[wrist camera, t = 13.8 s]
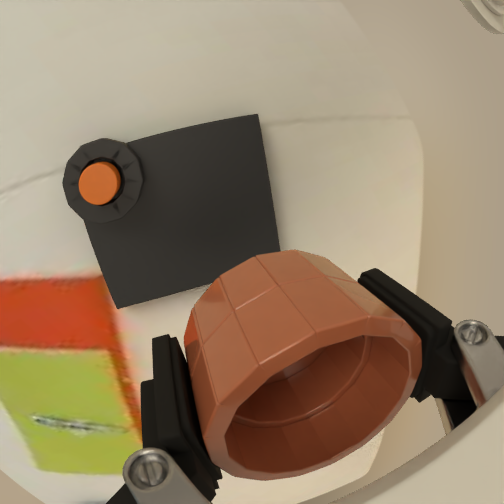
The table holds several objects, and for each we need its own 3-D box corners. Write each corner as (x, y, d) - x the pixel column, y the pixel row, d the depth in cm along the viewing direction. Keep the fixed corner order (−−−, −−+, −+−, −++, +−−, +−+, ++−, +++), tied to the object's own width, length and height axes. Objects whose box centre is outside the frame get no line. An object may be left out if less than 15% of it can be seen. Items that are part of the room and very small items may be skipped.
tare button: (80, 168, 17) (73, 171, 16) (115, 156, 18) (111, 158, 16) (90, 205, 18) (84, 210, 17) (125, 194, 19) (122, 198, 18)
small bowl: (212, 223, 9) (258, 297, 5) (369, 266, 11) (453, 326, 7) (167, 381, 11) (183, 484, 6) (307, 390, 13) (353, 465, 9)
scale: (67, 152, 19) (54, 155, 16) (250, 105, 22) (263, 101, 19) (116, 301, 24) (112, 320, 21) (276, 256, 27) (289, 271, 24)
